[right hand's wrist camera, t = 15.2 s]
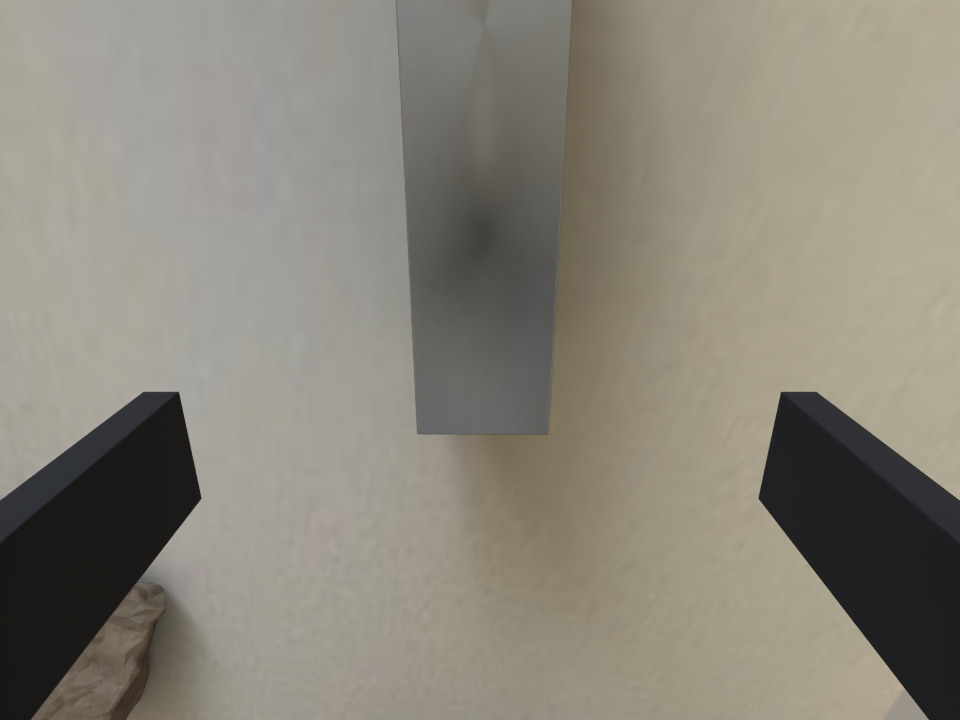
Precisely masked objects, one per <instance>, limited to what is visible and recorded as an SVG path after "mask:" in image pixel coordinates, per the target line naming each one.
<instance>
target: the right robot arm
mask: <svg viewBox="0 0 960 720" xmlns="http://www.w3.org/2000/svg"><path fill="white" fill-rule="evenodd" d="M200 500H201V494H200V489H199V484H198V480H197V475H196V470H195V465H194V461H193V456H192V451H191V447H190V442H189V437H188V433H187V428H186V423H185V418H184V414H183V409H182V404H181V400H180V395H179V392H143V393H142V394H140V395H139V396H138V397H136V398H135V399H134V400H132V401H131V402H130V403H128V404H127V405H126V406H124V407H123V408H122V409H120V410H119V411H118V412H117V413H115V414H114V415H113V416H111V417H110V418H109V419H107V420H106V421H105V422H103V423H102V424H101V425H99V426H98V427H97V428H95V429H94V430H93V431H91V432H90V433H89V434H87V435H86V436H85V437H84V438H82V439H81V440H80V441H78V442H77V443H76V444H74V445H73V446H72V447H70V448H69V449H68V450H66V451H65V452H64V453H62V454H61V455H60V456H58V457H57V458H56V459H54V460H53V461H52V462H51V463H49V464H48V465H47V466H45V467H44V468H43V469H41V470H40V471H39V472H37V473H36V474H35V475H33V476H32V477H31V478H29V479H28V480H27V481H25V482H24V483H23V484H21V485H20V486H19V487H18V488H16V489H15V490H14V491H12V492H11V493H10V494H8V495H7V496H6V497H4V498H3V499H2V500H0V720H31V719H32V718H33V716H34V715H35V714H36V712H37V711H38V710H39V709H40V707H41V706H42V705H43V703H44V702H45V701H46V700H47V698H48V697H49V696H50V694H51V693H52V692H53V690H54V689H55V688H56V687H57V685H58V684H59V683H60V681H61V680H62V679H63V677H64V676H65V675H66V674H67V672H68V671H69V670H70V668H71V667H72V666H73V664H74V663H75V662H76V661H77V659H78V658H79V657H80V655H81V654H82V653H83V652H84V650H85V649H86V648H87V646H88V645H89V644H90V642H91V641H92V640H93V639H94V637H95V636H96V635H97V633H98V632H99V631H100V629H101V628H102V627H103V626H104V624H105V623H106V622H107V620H108V619H109V618H110V616H111V615H112V614H113V613H114V611H115V610H116V609H117V607H118V606H119V605H120V604H121V602H122V601H123V600H124V598H125V597H126V596H127V594H128V593H129V592H130V591H131V589H132V588H133V587H134V585H135V584H136V583H137V581H138V580H139V579H140V578H141V576H142V575H143V574H144V572H145V571H146V570H147V569H148V567H149V566H150V565H151V563H152V562H153V561H154V559H155V558H156V557H157V556H158V554H159V553H160V552H161V550H162V549H163V548H164V546H165V545H166V544H167V543H168V541H169V540H170V539H171V537H172V536H173V535H174V533H175V532H176V531H177V530H178V528H179V527H180V526H181V524H182V523H183V522H184V521H185V519H186V518H187V517H188V515H189V514H190V513H191V511H192V510H193V509H194V508H195V506H196V505H197V504H198V502H199V501H200ZM759 500H760V501H761V502H762V504H763V505H764V506H765V508H766V509H767V510H768V511H769V513H770V514H771V515H772V517H773V518H774V519H775V521H776V522H777V523H778V524H779V526H780V527H781V528H782V530H783V531H784V532H785V533H786V535H787V536H788V537H789V539H790V540H791V541H792V543H793V544H794V545H795V546H796V548H797V549H798V550H799V552H800V553H801V554H802V556H803V557H804V558H805V559H806V561H807V562H808V563H809V565H810V566H811V567H812V569H813V570H814V571H815V572H816V574H817V575H818V576H819V578H820V579H821V580H822V581H823V583H824V584H825V585H826V587H827V588H828V589H829V591H830V592H831V593H832V594H833V596H834V597H835V598H836V600H837V601H838V602H839V604H840V605H841V606H842V607H843V609H844V610H845V611H846V613H847V614H848V615H849V616H850V618H851V619H852V620H853V622H854V623H855V624H856V626H857V627H858V628H859V629H860V631H861V632H862V633H863V635H864V636H865V637H866V639H867V640H868V641H869V642H870V644H871V645H872V646H873V648H874V649H875V650H876V652H877V653H878V654H879V655H880V657H881V658H882V659H883V661H884V662H885V663H886V664H887V666H888V667H889V668H890V670H891V671H892V672H893V674H894V675H895V676H896V677H897V679H898V680H899V681H900V683H901V684H902V685H903V687H904V688H905V689H906V690H907V692H908V693H909V694H910V696H911V697H912V698H913V699H914V701H915V702H916V703H917V705H918V706H919V707H920V709H921V710H922V711H923V712H924V714H925V715H926V716H927V718H928V719H929V720H960V500H958V499H957V498H956V497H954V496H953V495H952V494H950V493H949V492H948V491H946V490H945V489H944V488H942V487H941V486H940V485H939V484H937V483H936V482H935V481H933V480H932V479H931V478H929V477H928V476H927V475H925V474H924V473H923V472H921V471H920V470H919V469H917V468H916V467H915V466H913V465H912V464H911V463H909V462H908V461H907V460H906V459H904V458H903V457H902V456H900V455H899V454H898V453H896V452H895V451H894V450H892V449H891V448H890V447H888V446H887V445H886V444H884V443H883V442H882V441H880V440H879V439H878V438H876V437H875V436H874V435H873V434H871V433H870V432H869V431H867V430H866V429H865V428H863V427H862V426H861V425H859V424H858V423H857V422H855V421H854V420H853V419H851V418H850V417H849V416H847V415H846V414H845V413H843V412H842V411H841V410H840V409H838V408H837V407H836V406H834V405H833V404H832V403H830V402H829V401H828V400H826V399H825V398H824V397H822V396H821V395H820V394H818V393H817V392H781V395H780V400H779V404H778V409H777V414H776V418H775V423H774V428H773V433H772V437H771V442H770V447H769V451H768V456H767V461H766V465H765V470H764V475H763V480H762V484H761V489H760V494H759Z"/></svg>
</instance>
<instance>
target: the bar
mask: <svg viewBox="0 0 960 720" xmlns="http://www.w3.org/2000/svg"><path fill="white" fill-rule="evenodd" d="M572 4H573V0H396V12H397V32H398V53H399V73H400V94H401V114H402V134H403V155H404V175H405V196H406V216H407V236H408V257H409V277H410V298H411V318H412V339H413V359H414V379H415V400H416V420H417V434H549V424H550V405H551V387H552V369H553V351H554V332H555V314H556V296H557V277H558V259H559V241H560V223H561V204H562V186H563V168H564V150H565V131H566V113H567V95H568V77H569V58H570V40H571V22H572Z"/></svg>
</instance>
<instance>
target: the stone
mask: <svg viewBox="0 0 960 720" xmlns="http://www.w3.org/2000/svg"><path fill="white" fill-rule="evenodd" d="M165 601H166V599H165V596H164V591H163V588H162V587H161V586H160V585H158V584H152V583H141V582H137V583H136V584H135V585H134V587H133V588H132V589H131V591H130V592H129V593H128V594H127V596H126V597H125V598H124V600H123V601H122V602H121V604H120V605H119V606H118V607H117V609H116V610H115V611H114V613H113V614H112V615H111V616H110V618H109V619H108V620H107V622H106V623H105V624H104V626H103V627H102V628H101V629H100V631H99V632H98V633H97V635H96V636H95V637H94V639H93V640H92V641H91V642H90V644H89V645H88V646H87V648H86V649H85V650H84V652H83V653H82V654H81V655H80V657H79V658H78V659H77V661H76V662H75V663H74V664H73V666H72V667H71V668H70V670H69V671H68V672H67V674H66V675H65V676H64V677H63V679H62V680H61V681H60V683H59V684H58V685H57V687H56V688H55V689H54V690H53V692H52V693H51V694H50V696H49V697H48V698H47V700H46V701H45V702H44V703H43V705H42V706H41V707H40V709H39V710H38V711H37V712H36V714H35V715H34V716H33V718H32V719H31V720H126V719H127V717H128V715H129V714H130V712H131V711H132V709H133V707H134V706H135V705H136V704H137V702H138V701H139V700H140V698H141V696H142V693H143V690H144V688H145V683H146V681H147V679H148V673H149V671H148V664H147V658H146V656H147V653H148V650H149V647H150V644H151V641H152V637H153V633H154V630H155V627H156V623H157V619H159V618H160V617H161V616H162V614H163V613H164V612H165Z"/></svg>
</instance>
